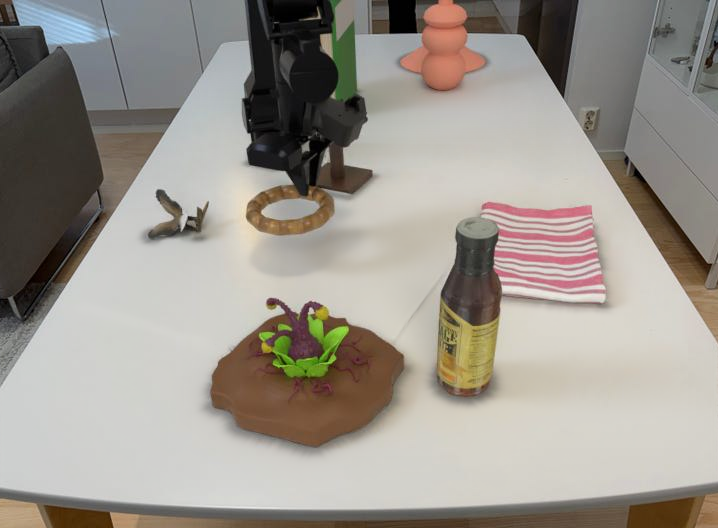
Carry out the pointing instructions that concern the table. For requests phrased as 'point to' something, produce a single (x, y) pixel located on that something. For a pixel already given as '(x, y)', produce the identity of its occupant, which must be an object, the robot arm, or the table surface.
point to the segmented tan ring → (290, 225)
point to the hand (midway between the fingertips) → (308, 192)
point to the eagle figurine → (176, 217)
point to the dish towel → (547, 253)
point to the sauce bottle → (470, 311)
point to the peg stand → (341, 173)
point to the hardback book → (342, 47)
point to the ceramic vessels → (443, 48)
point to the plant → (306, 376)
